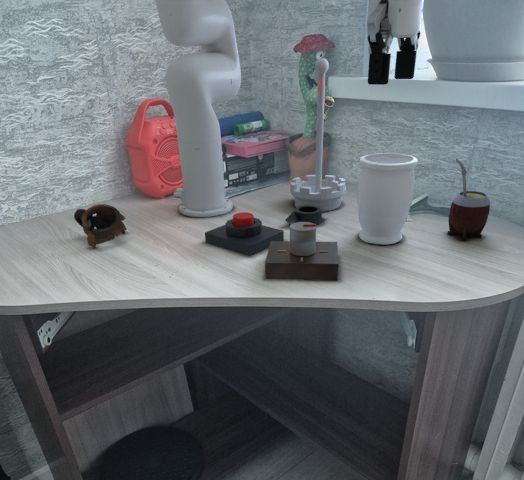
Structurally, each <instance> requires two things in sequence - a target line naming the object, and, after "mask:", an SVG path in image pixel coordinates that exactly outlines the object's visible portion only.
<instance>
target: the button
mask: <svg viewBox="0 0 524 480" xmlns="http://www.w3.org/2000/svg"><path fill="white" fill-rule="evenodd" d="M254 218H255V216H254V214H253V213H251V212H247V211H246V212H245V211H244V212H242V211H241V212H236V213H234V214H233V215H232V219H233V225H234V226H239V227H245V226H251V225H253V224H254Z"/></svg>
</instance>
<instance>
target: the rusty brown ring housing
mask: <svg viewBox="0 0 524 480" xmlns="http://www.w3.org/2000/svg"><path fill="white" fill-rule="evenodd" d="M73 218H74V220H75V221H76V223H77V224H78V225H79V226H80V227H82V230H83V232H84V234H85V235H86V238H87V239H86V242H87V244H88V246H89V247H90V248H93V249H96V247H97V245H100V244H101V245H102V244H104V243H107V242H110V241H113V240H114V239H116V237H118V236H120V234H121V233H122V234H124V235H125V234H126V231H127V229H128V228H127V227H126V225H125V223H124V222H123V221H125V220H126V216H125V215H123V214H122V213H121V212H120V210H119V209H118V208H116V207H115V206H113V205H111V204H110V205H109V204H106V203H102V204H100V203H99V204H94V205H92V206H90V207H89V208H87V209H84V208H79V209H76V211H75V212H74V214H73Z"/></svg>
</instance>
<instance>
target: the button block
mask: <svg viewBox="0 0 524 480" xmlns="http://www.w3.org/2000/svg"><path fill="white" fill-rule="evenodd" d="M284 237H285V231H284V230H282V229H280V228H279V229H278V228H275V227H271V226H267V225H263V222H262V220H260V218H257V217H254V224H253V225H251V226H245V227H239V226H234V225H233V218H231V219H228V220H227V221H225V224H223V225H221V226H217V227H215V228H213V229H210V230H208V231H205V232H204V238H205V239H204V240H205V243H206V244H209V245H211V246H214V247H218V248H222V249H224V250H228V251H231V252H234V253H237V254H240V255H243V256H247V257H252V256H254V255H257V254H259V253H260V252H263V251H265V250H267V249H269V246H270V242H271V241H285V238H284Z"/></svg>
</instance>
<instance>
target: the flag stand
mask: <svg viewBox="0 0 524 480" xmlns="http://www.w3.org/2000/svg"><path fill="white" fill-rule="evenodd" d="M329 68H330V64H329V61H328V60H327V59H326V58H324V57H321V58H319V59H317V60H316V61H315V63H314V70H315V72H316V74H317V97H316V98H317V99H316V129H315V131H316V132H315V133H316V134H315V165H314V166H315V169H314V170H315V172H314V173H315V174H307V175H305V180H302V179H301V177H298V176H297V177H294V178H292V179H291V181H290V182H289V185H290V186H289V191H290V192H289V193H290V194H291V195H292V197H294V207H295V208H296V207H299V206H305V205H313V206H318V207H320V208H322V211H332V210H336V209H338V208H340V207H341V204H342V197H343V196H344V195H346V193H347V180H346V179H345V178H343V177H339V178H338V181H337V180H336V175H331V174H325V175H324V179H322V178H323V175H322V174H323V151H324V121H325V119H324V118H325V94H326V93H325V92H326V91H325V90H326V74H327V72H328V71H329Z"/></svg>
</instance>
